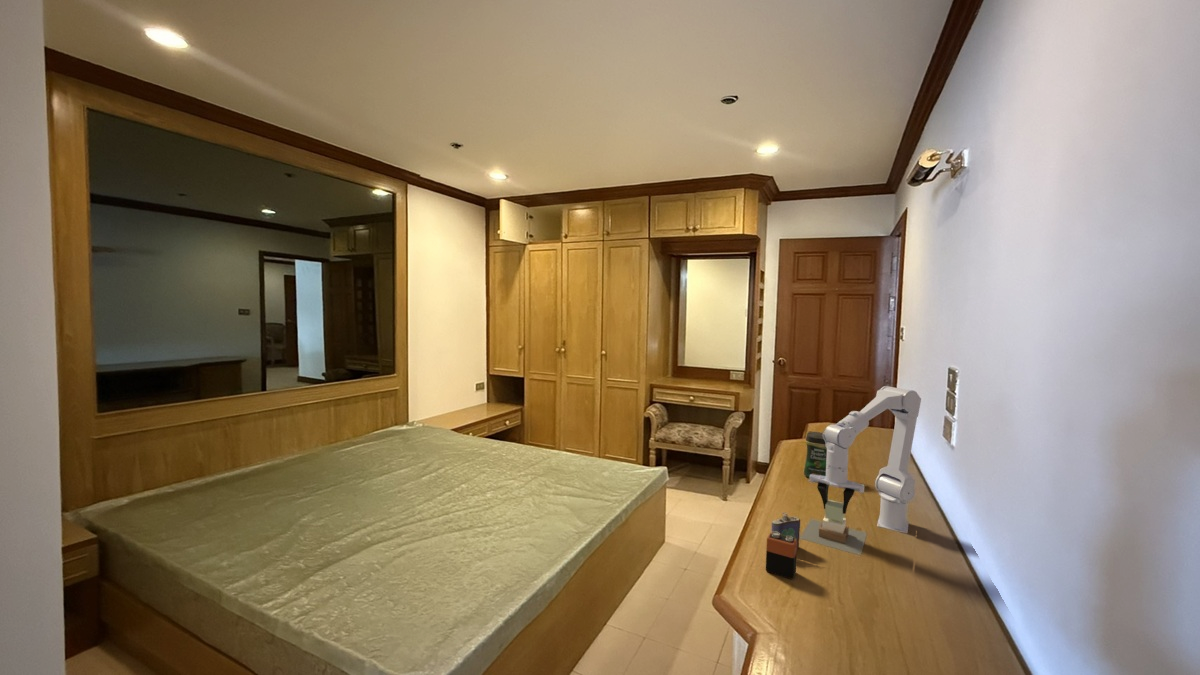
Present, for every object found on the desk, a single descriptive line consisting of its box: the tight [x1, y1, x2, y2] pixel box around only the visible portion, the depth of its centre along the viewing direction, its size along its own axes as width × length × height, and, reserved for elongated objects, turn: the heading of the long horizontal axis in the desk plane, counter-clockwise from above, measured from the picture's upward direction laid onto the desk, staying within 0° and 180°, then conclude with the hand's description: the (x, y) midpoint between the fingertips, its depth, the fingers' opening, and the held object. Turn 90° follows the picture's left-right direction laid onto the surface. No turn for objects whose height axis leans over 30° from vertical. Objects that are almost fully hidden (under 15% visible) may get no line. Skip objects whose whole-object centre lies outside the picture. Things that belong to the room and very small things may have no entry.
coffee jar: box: [803, 430, 827, 479], centre depth 189 cm, size 10×8×19 cm
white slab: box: [822, 516, 847, 534], centre depth 140 cm, size 6×6×2 cm
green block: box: [824, 499, 845, 522], centre depth 140 cm, size 4×4×4 cm
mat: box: [799, 518, 868, 556], centre depth 140 cm, size 16×16×1 cm
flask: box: [770, 511, 801, 550], centre depth 132 cm, size 9×3×11 cm, turn 109°
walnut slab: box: [819, 521, 850, 544], centre depth 140 cm, size 7×7×2 cm
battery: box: [765, 531, 798, 580], centre depth 121 cm, size 4×7×10 cm, turn 57°
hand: (834, 510), depth 140 cm, fingers closed on green block, 4 cm apart
